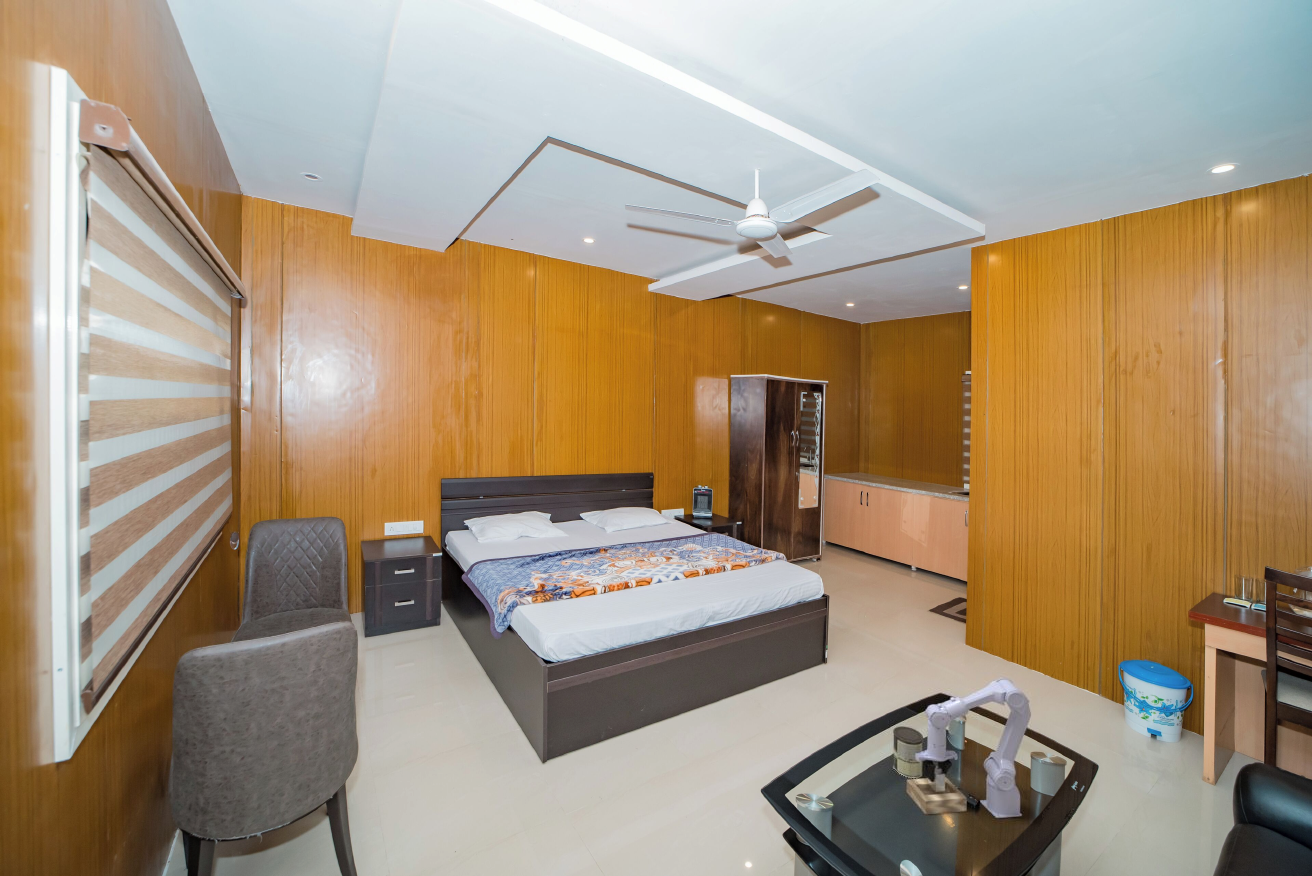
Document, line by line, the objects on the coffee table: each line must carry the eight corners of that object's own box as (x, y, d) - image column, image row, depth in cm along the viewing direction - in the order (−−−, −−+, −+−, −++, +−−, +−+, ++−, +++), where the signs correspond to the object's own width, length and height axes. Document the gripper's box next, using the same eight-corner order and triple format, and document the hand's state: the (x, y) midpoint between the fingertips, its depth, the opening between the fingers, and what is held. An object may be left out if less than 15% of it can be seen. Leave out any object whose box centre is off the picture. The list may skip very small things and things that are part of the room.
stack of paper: (937, 783, 187) (937, 764, 187) (944, 791, 183) (945, 771, 183) (928, 783, 187) (928, 765, 186) (935, 791, 183) (936, 772, 182)
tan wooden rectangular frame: (945, 789, 192) (945, 776, 191) (966, 810, 181) (966, 798, 180) (906, 792, 190) (906, 779, 190) (925, 814, 179) (925, 801, 179)
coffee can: (886, 764, 205) (887, 728, 205) (908, 759, 209) (908, 724, 208) (907, 781, 196) (907, 744, 195) (929, 775, 199) (929, 738, 199)
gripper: (948, 733, 190) (947, 770, 190) (910, 736, 188) (909, 773, 188) (961, 745, 183) (961, 784, 183) (922, 748, 181) (922, 787, 181)
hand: (936, 779), depth 185 cm, fingers closed on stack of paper, 3 cm apart
